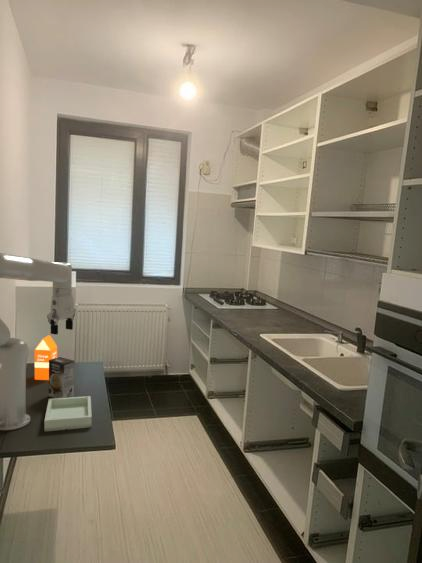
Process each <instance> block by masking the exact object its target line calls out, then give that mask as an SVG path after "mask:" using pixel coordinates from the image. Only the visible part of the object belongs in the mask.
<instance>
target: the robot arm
mask: <svg viewBox="0 0 422 563" xmlns="http://www.w3.org/2000/svg"><path fill="white" fill-rule="evenodd" d="M72 268H73V267H72V264H71V263H70V262H61V261H60V262H59V261H58V262H56V261H48V260H43V259H39V258H38V259H36V258H33V257H26V256H21V255H13V254H7V253H2V252H0V279H6V280H7V279H8V280H16V281H17V280H18V281H30V282H38V281H39V282H52V296H51V302H50V312H49V313H48V314H47V316H46V318H47V322H48V323H49V326H50V334H51V335H58V334H59V325H58V323H59V321H62V320H63V321H64V320H65V329H66V330H73V328H74V320H75V318H74V317H75V314H76V311H77V309H76V308H75V303H74V302H75V301H74V296H73V294H72V290H73V288H72V285H73V284H72V283H73V282H72V281H73V280H72V276H73V274H72V273H73V270H72ZM10 331H11V330H10V328H9V327H8V326H7V324H6V323H5V322H4V321H3V320H2V319H1V318H0V365H1V367H0V431H13V430H17V429H21V428H23V427H26V426H27V425H28V424H29V423H30V422H31V416H30V414H27V413H26V412H27V411H26V409H27V408H26V407H27V404H26V403H27V400H26V399H27V396H26V395H27V394H26V391H27V390H26V387H27V379H26V374H27V363H28V358H29V353H30V348H29V346H28V343H27V342H26V341H25V340H22V339H20V338H15V337H11V332H10Z"/></svg>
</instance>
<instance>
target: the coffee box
mask: <svg viewBox="0 0 422 563" xmlns="http://www.w3.org/2000/svg"><path fill="white" fill-rule="evenodd" d="M75 366H76V365H75V360H73V359H69V358H66V357H61V356H59V357H58V356H57V358H54V359H50V360H49V380H48V397H51V398H52V399H54V398H69V397H75Z"/></svg>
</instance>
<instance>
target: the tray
mask: <svg viewBox="0 0 422 563" xmlns="http://www.w3.org/2000/svg"><path fill="white" fill-rule="evenodd" d="M92 417H93V416H92V398H91V395H88V396H87V395H86V396H73V397H69V398H48V402H47V405H46V412H45V417H44V422H43V423H44V428H43V430H44V432H53V431H64V430H66V429H67V430H74V429H75V430H76V429H86V428H92V421H93V420H92V419H93V418H92Z"/></svg>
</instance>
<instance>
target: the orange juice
mask: <svg viewBox="0 0 422 563" xmlns="http://www.w3.org/2000/svg"><path fill="white" fill-rule="evenodd" d="M54 358H58V345H57V344H56V342H55V341H54V339H53V338H52V336H51V335H50V334H49V335H48V334H47V336H45V337H44V338H42V339H41V341H40V342H39V344H37V346H36V348H35V349H34V380H35V381H36V380H37V381H49V360H50V359H54Z"/></svg>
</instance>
